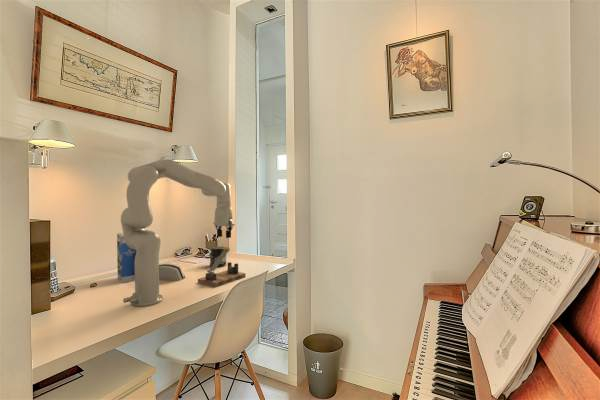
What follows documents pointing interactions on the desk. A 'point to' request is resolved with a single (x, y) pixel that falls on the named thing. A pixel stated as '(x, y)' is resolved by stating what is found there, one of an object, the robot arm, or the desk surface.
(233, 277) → the strap board
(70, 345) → the desk surface
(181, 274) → the grey curved block
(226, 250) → the strap
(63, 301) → the desk surface
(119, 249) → the string lights box
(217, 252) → the supplement container
